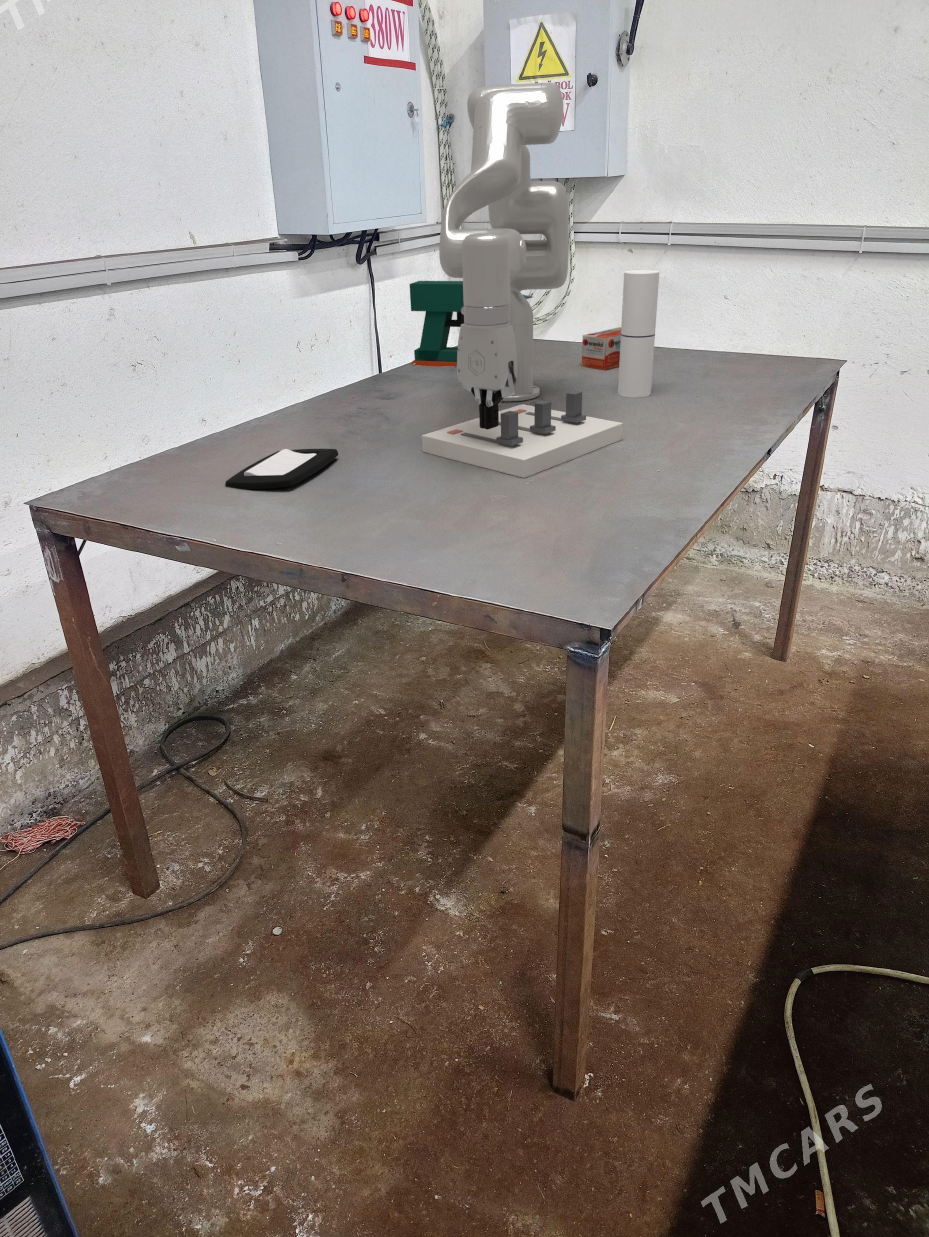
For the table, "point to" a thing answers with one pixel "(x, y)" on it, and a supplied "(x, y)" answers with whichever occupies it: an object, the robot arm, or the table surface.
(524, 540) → the table surface
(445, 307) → the power tool
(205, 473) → the table surface
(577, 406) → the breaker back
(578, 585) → the table surface
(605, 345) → the medicine box
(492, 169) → the robot arm
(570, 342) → the table surface
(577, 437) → the breaker panel
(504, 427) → the breaker
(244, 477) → the light switch
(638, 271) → the cylindrical container
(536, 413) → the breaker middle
